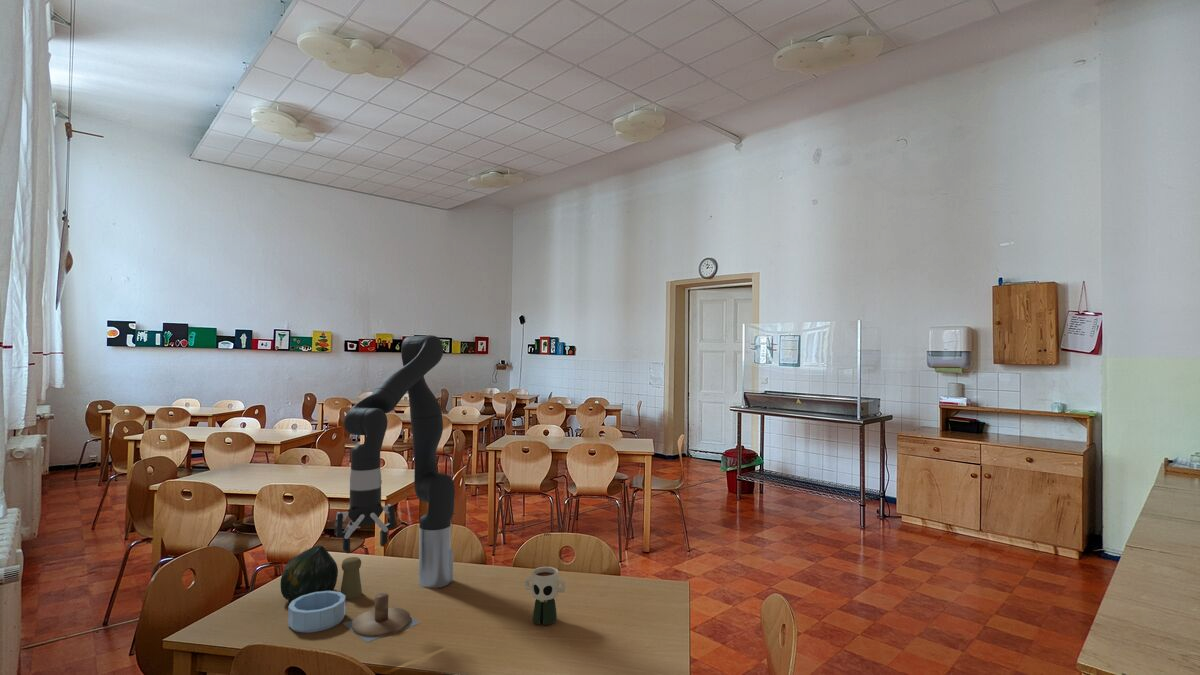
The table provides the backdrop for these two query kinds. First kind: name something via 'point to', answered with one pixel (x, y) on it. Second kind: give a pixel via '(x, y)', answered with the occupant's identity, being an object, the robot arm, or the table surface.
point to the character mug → (545, 593)
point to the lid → (381, 619)
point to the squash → (309, 573)
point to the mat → (371, 638)
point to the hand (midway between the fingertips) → (365, 549)
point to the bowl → (316, 611)
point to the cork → (351, 578)
